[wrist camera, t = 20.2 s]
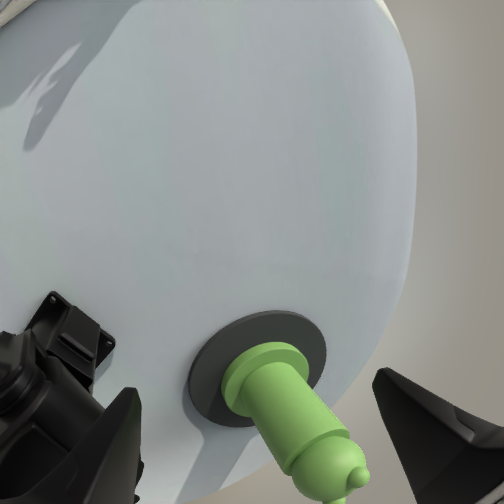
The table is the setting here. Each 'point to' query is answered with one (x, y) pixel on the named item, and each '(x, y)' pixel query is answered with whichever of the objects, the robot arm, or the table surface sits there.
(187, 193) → the table surface
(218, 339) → the mat
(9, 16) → the figurine
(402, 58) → the table surface
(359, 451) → the toy
